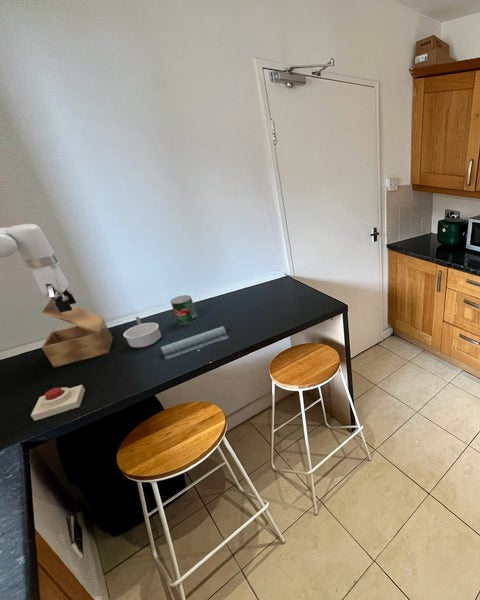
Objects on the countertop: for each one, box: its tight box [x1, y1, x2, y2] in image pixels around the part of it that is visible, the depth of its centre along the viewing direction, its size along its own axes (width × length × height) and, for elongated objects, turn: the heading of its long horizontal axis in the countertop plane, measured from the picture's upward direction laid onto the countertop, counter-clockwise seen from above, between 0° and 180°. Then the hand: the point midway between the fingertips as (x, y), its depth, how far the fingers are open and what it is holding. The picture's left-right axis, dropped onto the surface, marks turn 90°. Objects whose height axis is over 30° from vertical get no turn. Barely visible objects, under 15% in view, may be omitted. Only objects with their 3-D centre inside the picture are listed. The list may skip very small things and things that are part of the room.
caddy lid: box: [41, 296, 105, 334], centre depth 117 cm, size 16×13×5 cm
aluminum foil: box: [160, 325, 230, 360], centre depth 126 cm, size 23×7×3 cm, turn 133°
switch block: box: [30, 384, 86, 421], centre depth 97 cm, size 10×9×4 cm
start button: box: [44, 387, 64, 400], centre depth 96 cm, size 4×4×2 cm
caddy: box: [41, 319, 114, 368], centre depth 121 cm, size 16×13×9 cm
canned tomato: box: [169, 294, 199, 326], centre depth 142 cm, size 8×8×11 cm
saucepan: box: [123, 316, 162, 348], centre depth 130 cm, size 12×20×6 cm, turn 42°
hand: (68, 307), depth 115 cm, fingers closed on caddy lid, 5 cm apart
